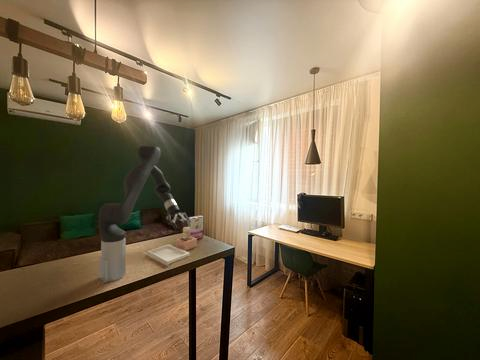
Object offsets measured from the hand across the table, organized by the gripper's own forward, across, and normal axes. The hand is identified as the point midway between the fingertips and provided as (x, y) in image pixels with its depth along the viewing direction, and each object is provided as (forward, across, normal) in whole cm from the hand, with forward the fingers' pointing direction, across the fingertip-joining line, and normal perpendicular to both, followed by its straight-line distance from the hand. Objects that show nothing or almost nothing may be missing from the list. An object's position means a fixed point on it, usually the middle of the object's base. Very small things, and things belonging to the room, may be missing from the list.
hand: (182, 227), depth 125 cm
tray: (+13, -14, +4) cm, 20 cm away
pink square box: (+12, 0, +6) cm, 13 cm away
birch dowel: (+11, 0, +5) cm, 12 cm away
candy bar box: (+6, +14, +12) cm, 19 cm away
